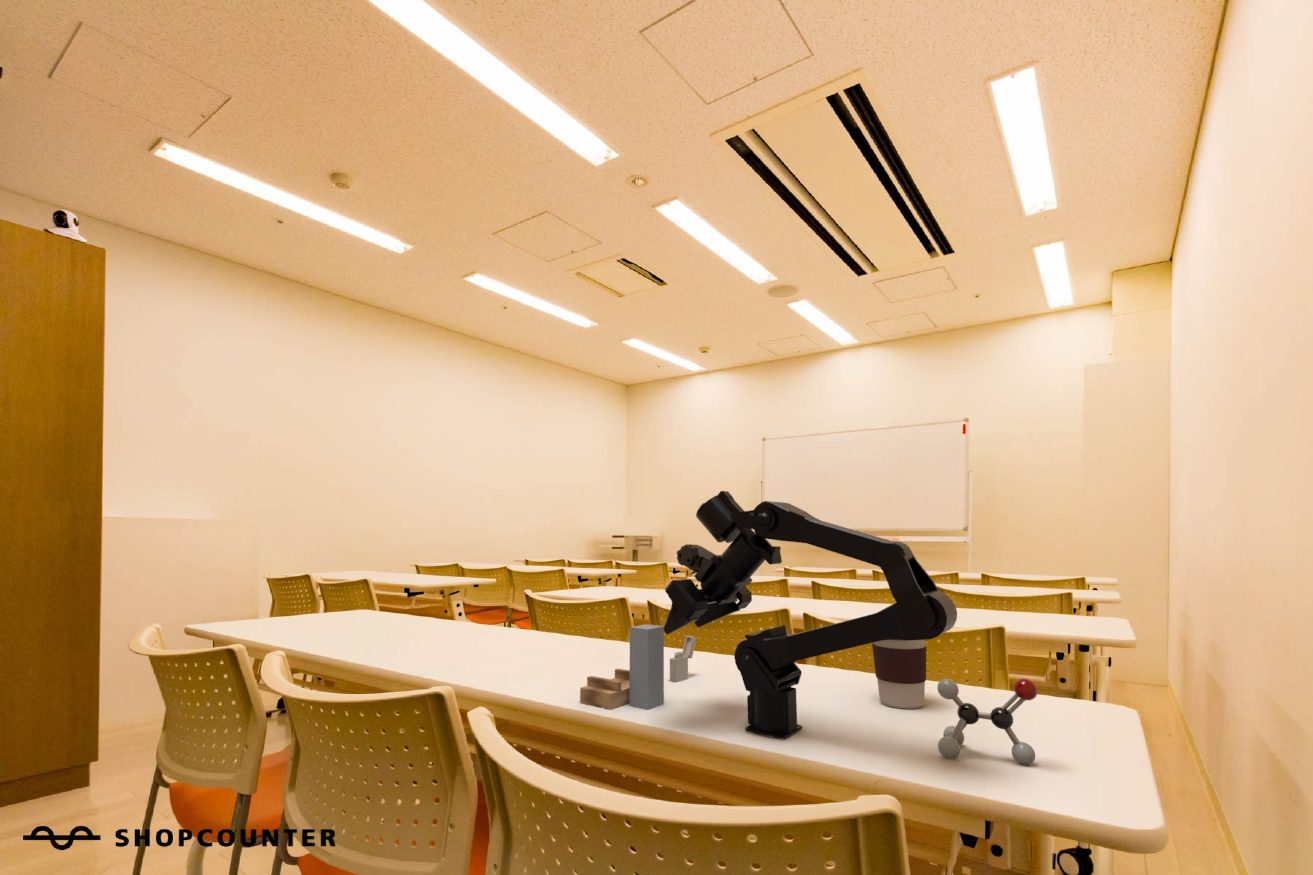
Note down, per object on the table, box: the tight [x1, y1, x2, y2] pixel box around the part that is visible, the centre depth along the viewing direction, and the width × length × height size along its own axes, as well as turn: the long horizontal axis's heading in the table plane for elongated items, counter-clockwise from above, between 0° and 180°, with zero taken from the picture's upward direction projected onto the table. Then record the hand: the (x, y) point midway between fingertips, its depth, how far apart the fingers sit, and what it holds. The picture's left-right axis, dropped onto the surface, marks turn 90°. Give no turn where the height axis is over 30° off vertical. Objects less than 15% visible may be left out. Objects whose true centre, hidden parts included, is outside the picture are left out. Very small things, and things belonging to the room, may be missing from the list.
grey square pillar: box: [628, 623, 665, 710], centre depth 110 cm, size 4×4×13 cm
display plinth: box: [579, 668, 630, 710], centre depth 113 cm, size 7×12×4 cm, turn 143°
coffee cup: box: [871, 640, 927, 710], centre depth 111 cm, size 10×10×15 cm
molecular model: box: [937, 677, 1038, 766], centre depth 85 cm, size 8×12×11 cm
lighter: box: [669, 635, 697, 683], centre depth 129 cm, size 7×2×8 cm, turn 141°
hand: (681, 628), depth 107 cm, fingers open, 9 cm apart
